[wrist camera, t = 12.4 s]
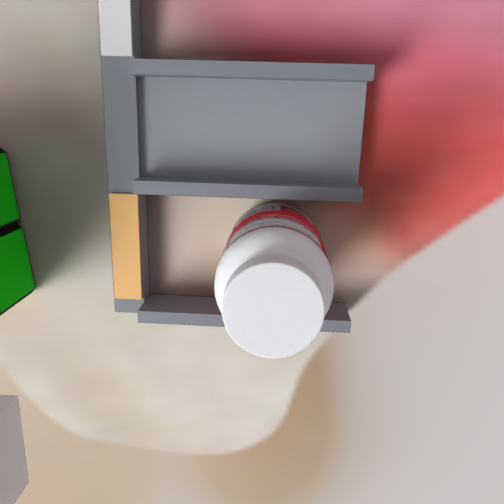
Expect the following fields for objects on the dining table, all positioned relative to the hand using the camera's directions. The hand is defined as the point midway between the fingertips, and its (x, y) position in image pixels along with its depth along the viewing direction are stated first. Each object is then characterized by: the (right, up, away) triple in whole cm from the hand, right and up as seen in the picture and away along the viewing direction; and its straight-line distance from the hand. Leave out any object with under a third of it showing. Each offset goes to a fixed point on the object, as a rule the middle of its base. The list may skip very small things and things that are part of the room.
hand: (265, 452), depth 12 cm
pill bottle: (+1, +6, +20) cm, 21 cm away
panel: (-1, +13, +17) cm, 22 cm away
